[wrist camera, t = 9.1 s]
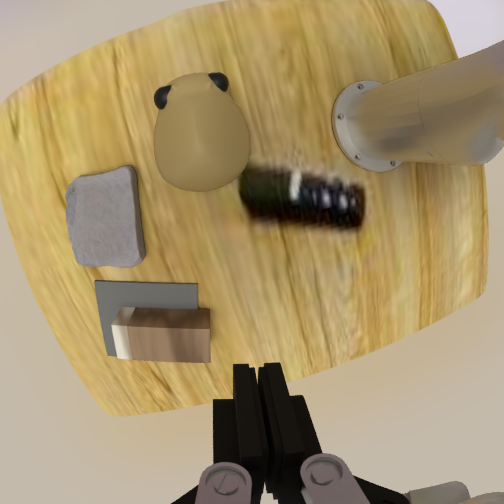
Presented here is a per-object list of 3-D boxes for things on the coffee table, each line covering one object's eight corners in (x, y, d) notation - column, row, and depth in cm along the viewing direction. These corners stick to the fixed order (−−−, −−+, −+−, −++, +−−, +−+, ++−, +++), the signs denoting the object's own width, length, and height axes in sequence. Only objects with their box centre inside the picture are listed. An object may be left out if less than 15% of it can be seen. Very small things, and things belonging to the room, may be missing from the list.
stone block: (90, 261, 37) (153, 259, 36) (71, 273, 32) (137, 271, 31) (79, 175, 33) (142, 163, 33) (56, 177, 29) (124, 163, 28)
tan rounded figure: (235, 83, 31) (245, 52, 21) (250, 179, 35) (267, 185, 24) (153, 98, 30) (131, 73, 20) (168, 194, 34) (151, 207, 24)
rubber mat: (197, 283, 37) (197, 284, 37) (199, 359, 41) (199, 360, 40) (95, 280, 35) (94, 281, 35) (108, 354, 39) (107, 355, 38)
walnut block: (210, 329, 33) (111, 325, 32) (210, 362, 35) (117, 358, 33) (209, 309, 38) (121, 306, 36) (209, 341, 40) (126, 337, 38)
